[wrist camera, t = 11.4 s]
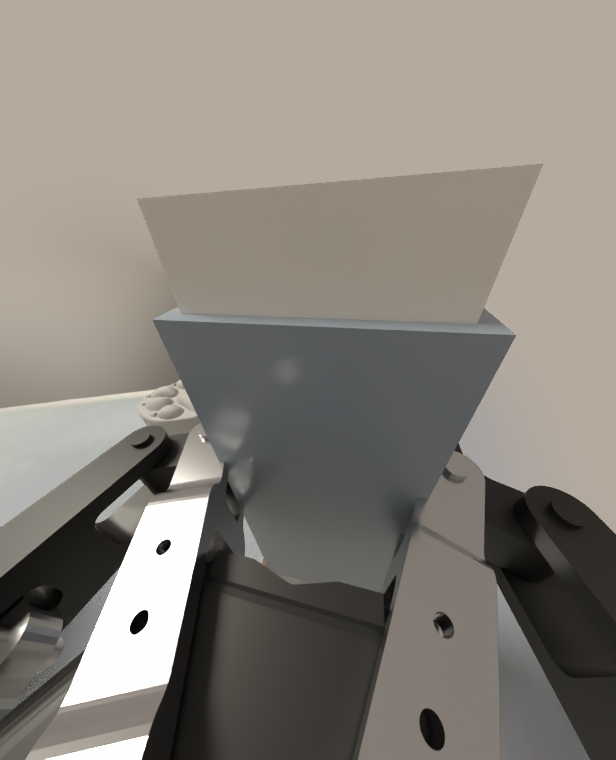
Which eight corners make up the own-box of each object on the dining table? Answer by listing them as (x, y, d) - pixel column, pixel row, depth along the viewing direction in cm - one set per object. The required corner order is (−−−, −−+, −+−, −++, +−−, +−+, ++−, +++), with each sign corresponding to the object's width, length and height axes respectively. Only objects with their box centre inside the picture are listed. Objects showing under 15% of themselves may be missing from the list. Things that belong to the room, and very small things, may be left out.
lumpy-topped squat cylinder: (221, 447, 39) (205, 410, 33) (144, 453, 38) (115, 417, 33) (233, 405, 47) (221, 371, 42) (169, 410, 47) (150, 376, 41)
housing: (270, 571, 11) (96, 199, 3) (296, 478, 15) (257, 206, 7) (374, 599, 10) (613, 152, 2) (372, 492, 14) (444, 193, 6)
